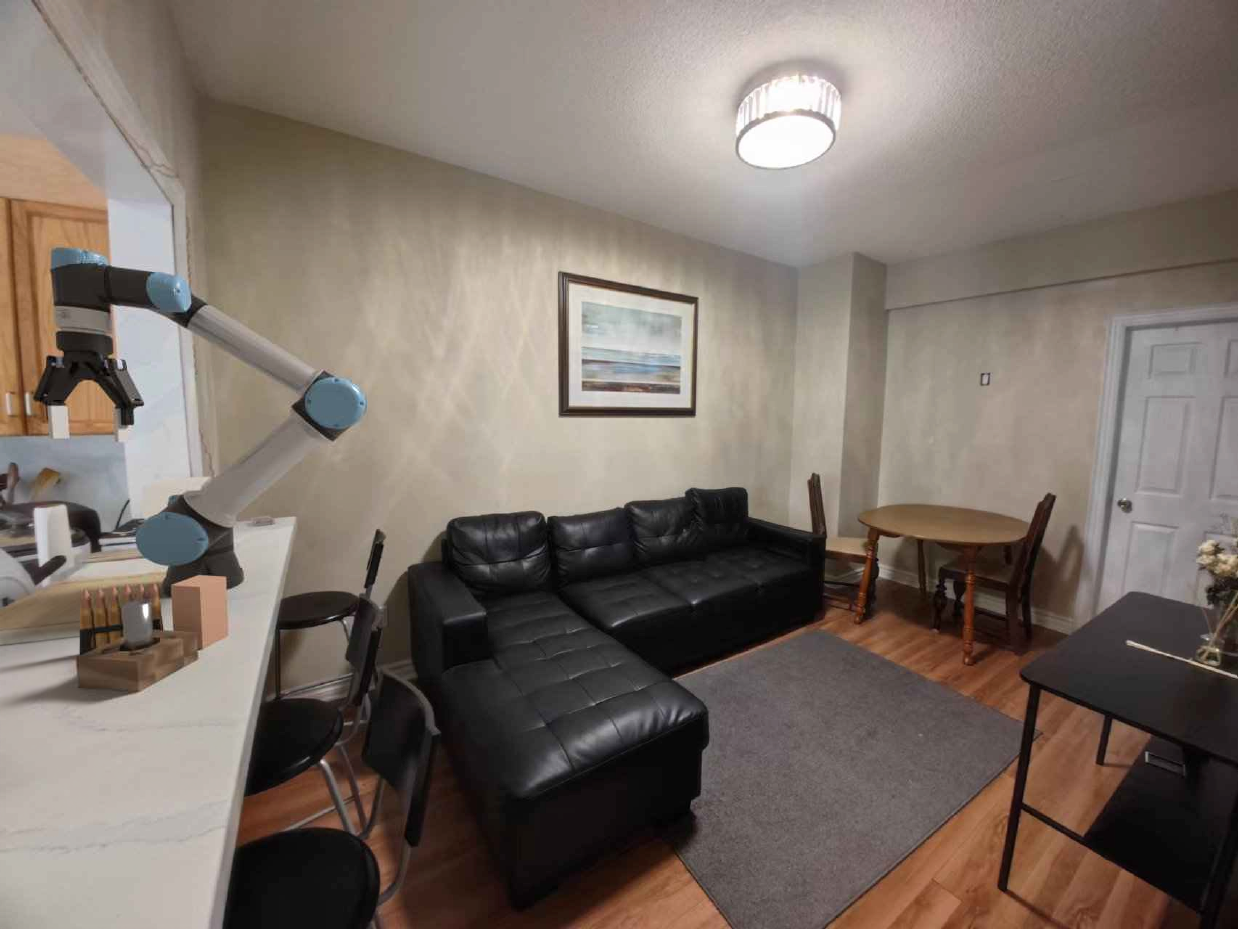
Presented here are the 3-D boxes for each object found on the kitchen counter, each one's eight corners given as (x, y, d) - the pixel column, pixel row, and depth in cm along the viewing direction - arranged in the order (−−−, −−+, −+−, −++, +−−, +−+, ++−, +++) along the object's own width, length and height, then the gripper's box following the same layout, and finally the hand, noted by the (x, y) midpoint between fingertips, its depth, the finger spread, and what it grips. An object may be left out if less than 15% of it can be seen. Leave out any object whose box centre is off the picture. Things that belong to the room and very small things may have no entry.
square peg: (201, 634, 93) (198, 575, 92) (228, 635, 93) (226, 576, 91) (174, 647, 87) (170, 585, 86) (202, 649, 87) (199, 587, 86)
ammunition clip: (79, 658, 83) (74, 592, 81) (84, 653, 84) (79, 588, 83) (162, 645, 88) (158, 583, 87) (165, 641, 90) (161, 580, 88)
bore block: (144, 655, 84) (142, 628, 84) (198, 659, 84) (196, 632, 83) (78, 687, 74) (75, 657, 74) (139, 691, 74) (137, 661, 73)
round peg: (141, 666, 81) (137, 599, 80) (160, 667, 81) (157, 600, 79) (120, 677, 77) (115, 607, 76) (140, 678, 77) (135, 608, 76)
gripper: (-2, 326, 90) (8, 437, 92) (124, 331, 89) (131, 444, 91) (48, 333, 97) (55, 436, 99) (164, 338, 96) (169, 442, 98)
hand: (91, 440), depth 95 cm, fingers open, 13 cm apart
